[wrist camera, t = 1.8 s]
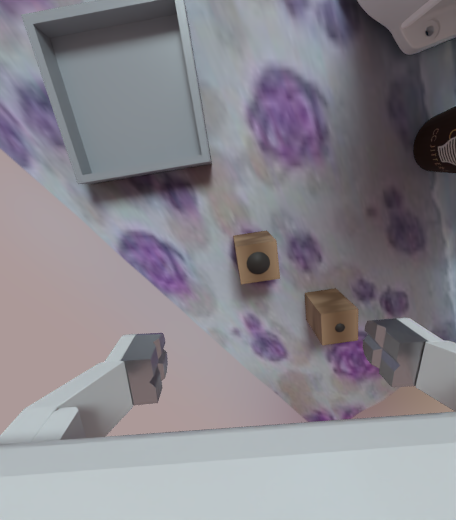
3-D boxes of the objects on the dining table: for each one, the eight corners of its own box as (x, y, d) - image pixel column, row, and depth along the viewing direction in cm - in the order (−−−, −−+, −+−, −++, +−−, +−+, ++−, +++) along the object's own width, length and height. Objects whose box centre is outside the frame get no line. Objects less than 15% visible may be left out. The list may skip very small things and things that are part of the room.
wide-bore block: (266, 230, 31) (276, 240, 25) (270, 262, 33) (280, 278, 27) (233, 235, 31) (235, 247, 26) (238, 267, 33) (241, 284, 27)
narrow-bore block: (335, 288, 34) (358, 309, 28) (336, 315, 35) (358, 340, 29) (304, 292, 34) (321, 314, 28) (306, 319, 35) (322, 345, 30)
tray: (185, 8, 24) (180, -17, 21) (211, 163, 29) (210, 161, 26) (44, 34, 24) (21, 14, 22) (92, 183, 29) (77, 183, 26)
